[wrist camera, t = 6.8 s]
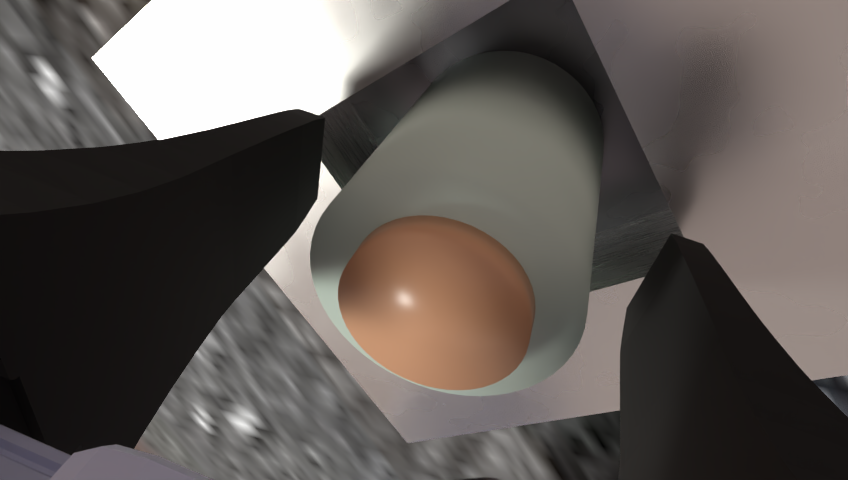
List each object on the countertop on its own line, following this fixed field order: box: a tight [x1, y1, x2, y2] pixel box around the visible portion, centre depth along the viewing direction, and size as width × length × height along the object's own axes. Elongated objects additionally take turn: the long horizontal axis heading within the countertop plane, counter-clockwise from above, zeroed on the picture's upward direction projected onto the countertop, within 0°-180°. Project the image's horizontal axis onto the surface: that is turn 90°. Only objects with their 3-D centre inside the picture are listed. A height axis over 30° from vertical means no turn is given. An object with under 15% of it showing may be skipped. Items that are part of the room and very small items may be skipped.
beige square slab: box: [92, 0, 848, 443], centre depth 14 cm, size 14×14×4 cm
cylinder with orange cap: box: [310, 51, 604, 396], centre depth 12 cm, size 5×5×7 cm
